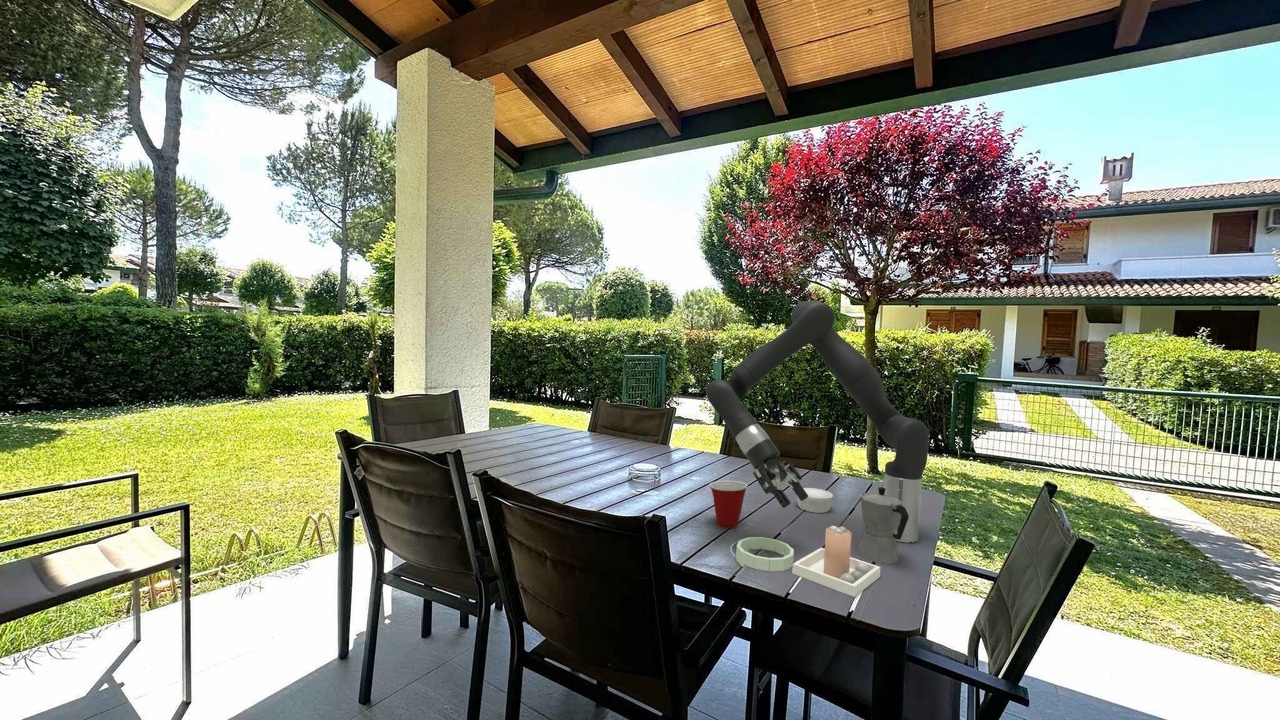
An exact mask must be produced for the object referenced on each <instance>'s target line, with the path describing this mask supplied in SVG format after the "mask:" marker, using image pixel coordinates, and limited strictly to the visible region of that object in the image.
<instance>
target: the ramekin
mask: <svg viewBox="0 0 1280 720" xmlns="http://www.w3.org/2000/svg"><path fill="white" fill-rule="evenodd" d="M803 489H804V490H805V492H806V493H807V494H808V497H807V498H806V499H805V500H803V501H801V500H800V499H799V498H798V496H797V495H796V500H797V507H800V508H801V509H800V508H799V509H800V510H802V509H803V510H802V511H804V510H806V511H805V512H807V511H809V512H808V513H812V512H814V513H813V514H825V512H826V513H828V512H829V511H830V509H831V505H832V502H833V499H834V495H833V493H832V492H830V491H828V490H824V489H820V488H814V487H803Z"/></svg>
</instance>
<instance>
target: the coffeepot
mask: <svg viewBox="0 0 1280 720" xmlns="http://www.w3.org/2000/svg"><path fill="white" fill-rule="evenodd" d="M877 489H878V493H874V492H862V493H861V494H862V495H860V501H861V513H862V522H863V524H864V530H863V531H862V533H861V534H862V535H861V539H860V542H859V543H860V544H859V547H858V550H857V552H858V553H859V555H860V557H861V558H862V559H865V560H867V561H871V562H873V563H876V564H888V565H892V564H894V563H896V562H899V555H898V546H897V541H896V539H898V540H900V539H901V537H902V535H903V532H904V529H905V527H906V524H907V521H908V519H909V515H908V513H907V511H906V508H905V507H904V506H902V504H903V503H902V502H901V501H900V500H898V499H897V498H894V497H890V496H887V495H884V493H885V488H884V486H881V487H880V486H879V487H878V488H877ZM900 514H901V518H900V524H899V526H898V528H897V525H898V521H899V516H900ZM896 528H897V534H894V530H895V529H896Z"/></svg>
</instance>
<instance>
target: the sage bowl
mask: <svg viewBox="0 0 1280 720" xmlns="http://www.w3.org/2000/svg"><path fill="white" fill-rule="evenodd" d="M750 550H765V551H770V552H775V553H778V554H780V555H782V557H765V556H759V555H755V554H752V553H750V552H751V551H750ZM794 551H795V550H794V548H793V547H791V546H790V545H789V544H788V543H786V542H784V541H781V540H778V539H775V538H769V537H763V536H749V537H745V538H743V539H740V540H738V542H737V544H736V553H735V554H736V555H735V561H736V562H737V563H738V564H739V566H741V567H742V568H744V567H745V566H746V567H749V568H752V569H753V570H760V571H764V572H784V571H786V570H788V569H791V568H793V563H794V556H795V555H794V553H795V552H794Z"/></svg>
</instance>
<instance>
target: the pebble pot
mask: <svg viewBox="0 0 1280 720" xmlns="http://www.w3.org/2000/svg"><path fill="white" fill-rule="evenodd" d="M824 539H825V540H824V549H825V553H824V571H823V573H824V574H827V575H829V576H832V577H835V578H838V579H840V577H841V575H842V574H844V573H849V569H850V557H851V549H852V531H850V530H848V529H847V528H846V527H844V526H836V525H830V526H829V527H826V528H825V537H824Z"/></svg>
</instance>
